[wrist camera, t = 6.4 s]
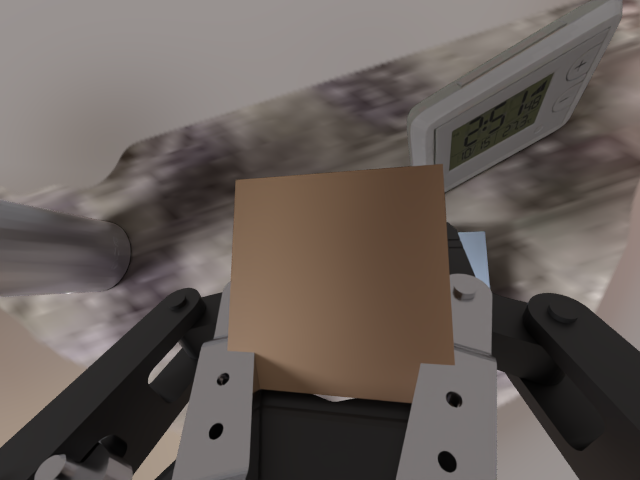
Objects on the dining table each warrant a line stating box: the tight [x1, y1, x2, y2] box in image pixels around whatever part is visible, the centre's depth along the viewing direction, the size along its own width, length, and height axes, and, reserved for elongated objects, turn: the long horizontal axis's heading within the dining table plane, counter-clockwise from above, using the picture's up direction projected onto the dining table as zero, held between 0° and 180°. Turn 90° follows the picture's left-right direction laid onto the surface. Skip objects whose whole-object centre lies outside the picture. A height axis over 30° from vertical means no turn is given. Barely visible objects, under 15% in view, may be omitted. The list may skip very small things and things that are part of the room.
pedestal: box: [458, 231, 490, 288], centre depth 27 cm, size 8×8×3 cm
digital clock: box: [407, 0, 622, 192], centre depth 24 cm, size 16×9×11 cm, turn 107°
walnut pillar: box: [227, 164, 455, 407], centre depth 10 cm, size 4×4×10 cm
